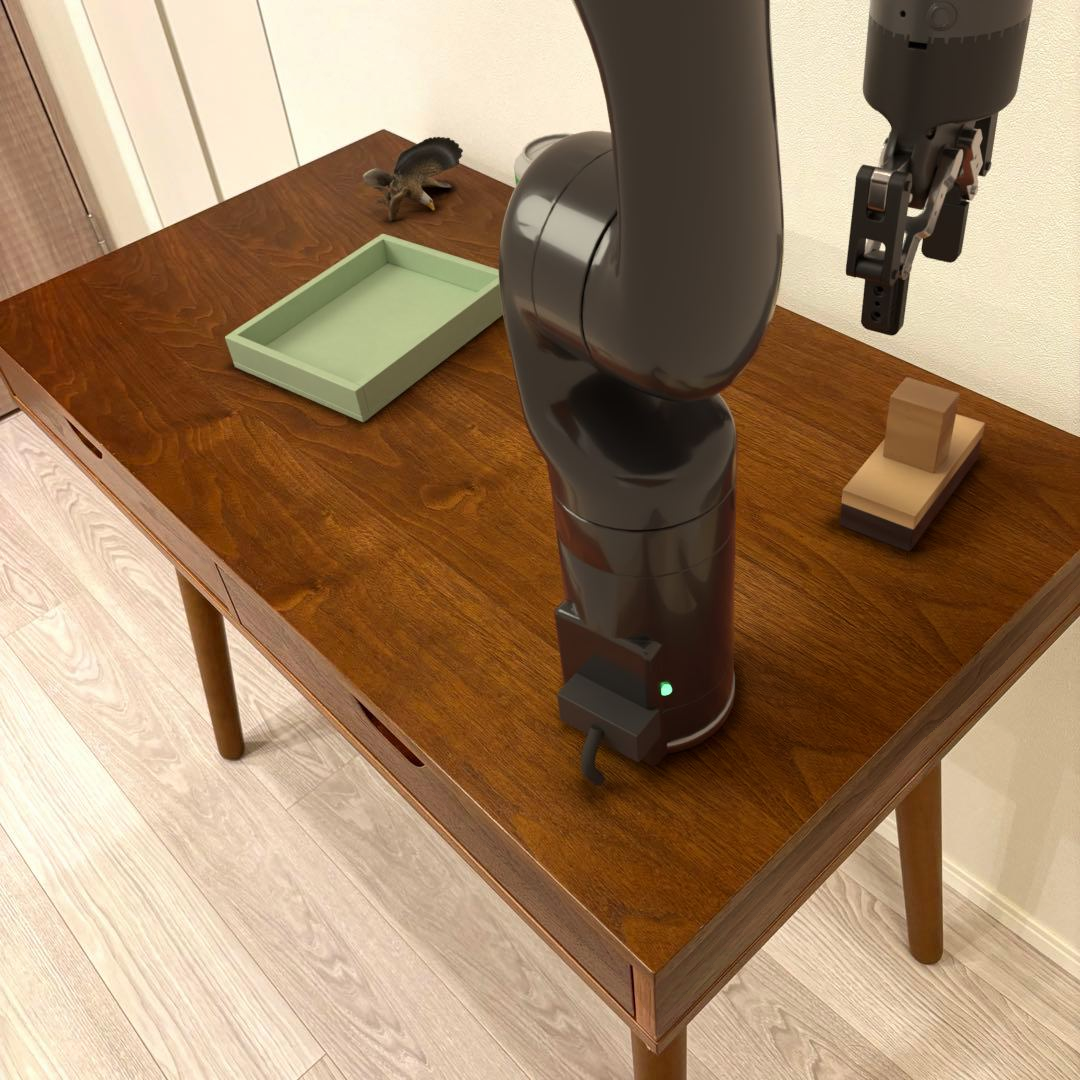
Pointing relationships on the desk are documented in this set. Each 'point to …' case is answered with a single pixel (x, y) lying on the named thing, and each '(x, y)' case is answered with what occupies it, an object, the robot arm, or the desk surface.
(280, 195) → the desk surface
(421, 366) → the tray
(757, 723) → the desk surface
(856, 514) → the brush
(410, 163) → the brown animal figurine
